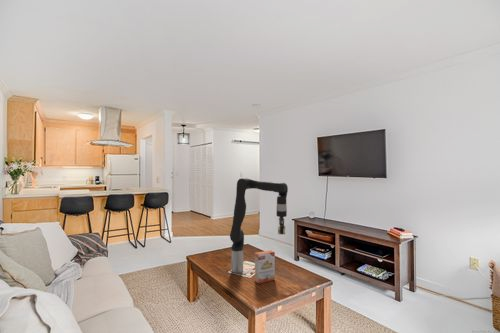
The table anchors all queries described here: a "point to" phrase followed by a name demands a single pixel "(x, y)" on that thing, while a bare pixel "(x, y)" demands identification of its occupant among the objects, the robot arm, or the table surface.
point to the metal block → (279, 229)
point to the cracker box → (264, 266)
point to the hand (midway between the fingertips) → (281, 232)
